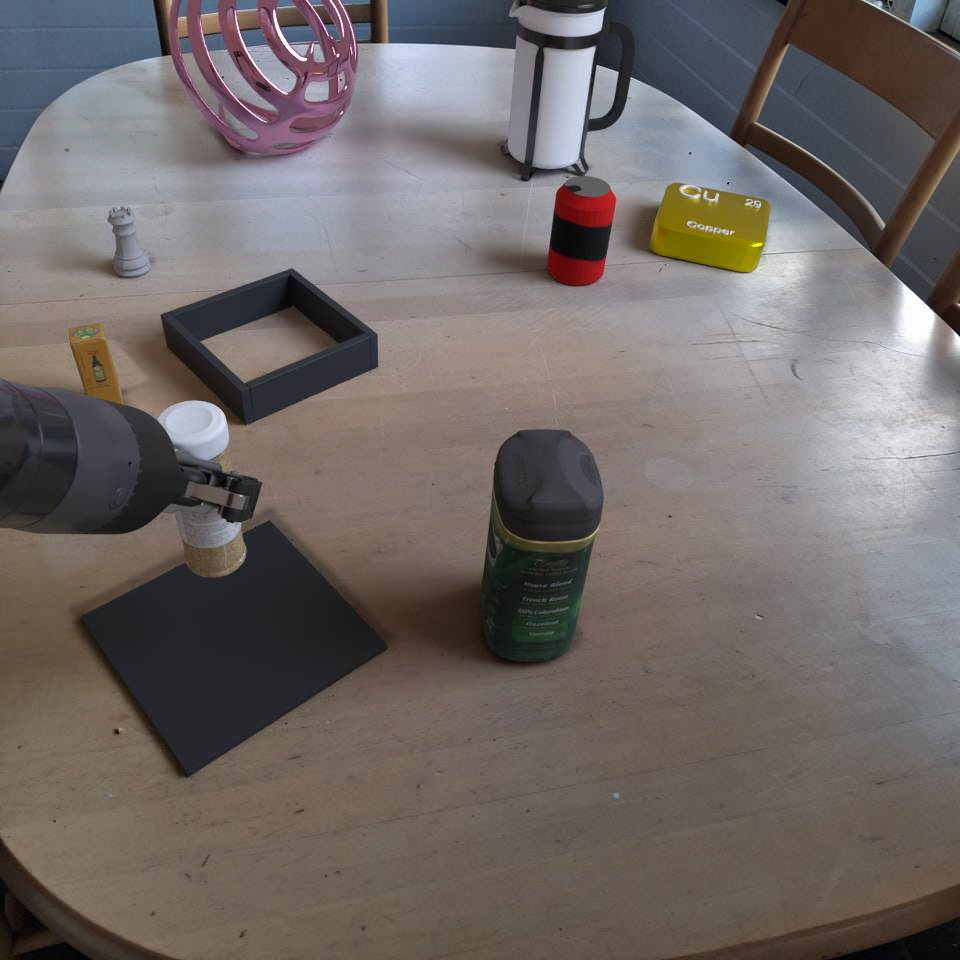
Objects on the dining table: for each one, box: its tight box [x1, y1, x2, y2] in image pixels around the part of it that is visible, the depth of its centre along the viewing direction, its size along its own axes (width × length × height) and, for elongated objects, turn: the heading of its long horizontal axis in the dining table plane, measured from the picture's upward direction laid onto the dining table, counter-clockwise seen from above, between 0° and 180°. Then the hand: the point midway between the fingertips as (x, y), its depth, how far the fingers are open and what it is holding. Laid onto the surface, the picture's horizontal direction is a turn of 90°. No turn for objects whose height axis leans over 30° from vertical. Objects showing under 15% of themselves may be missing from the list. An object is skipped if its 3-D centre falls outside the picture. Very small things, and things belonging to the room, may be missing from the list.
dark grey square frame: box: [160, 267, 379, 426], centre depth 101 cm, size 17×17×4 cm
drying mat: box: [79, 519, 389, 778], centre depth 74 cm, size 18×18×1 cm
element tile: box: [649, 182, 772, 273], centre depth 127 cm, size 15×15×5 cm
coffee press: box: [499, 0, 636, 182], centre depth 134 cm, size 17×16×30 cm
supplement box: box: [68, 322, 126, 405], centre depth 90 cm, size 3×3×10 cm
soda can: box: [546, 175, 617, 287], centre depth 116 cm, size 8×8×12 cm
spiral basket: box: [167, 0, 359, 155], centre depth 135 cm, size 28×28×27 cm
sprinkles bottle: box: [155, 400, 246, 578], centre depth 63 cm, size 5×5×14 cm
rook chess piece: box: [107, 205, 152, 279], centre depth 111 cm, size 4×4×8 cm
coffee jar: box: [479, 428, 605, 663], centre depth 71 cm, size 10×8×19 cm
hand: (219, 483), depth 65 cm, fingers closed on sprinkles bottle, 4 cm apart
